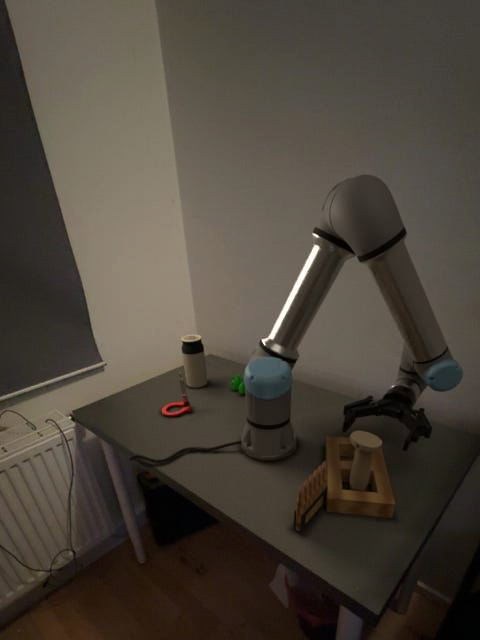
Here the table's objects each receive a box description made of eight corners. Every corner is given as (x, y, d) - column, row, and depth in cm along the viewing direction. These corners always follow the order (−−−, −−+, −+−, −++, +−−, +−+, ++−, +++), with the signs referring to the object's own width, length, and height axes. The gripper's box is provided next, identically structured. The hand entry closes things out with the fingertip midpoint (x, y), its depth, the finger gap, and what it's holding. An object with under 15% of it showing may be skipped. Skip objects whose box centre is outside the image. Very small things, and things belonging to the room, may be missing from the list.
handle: (361, 506, 75) (371, 450, 67) (338, 490, 80) (345, 436, 72) (375, 496, 78) (387, 441, 70) (352, 481, 82) (360, 428, 74)
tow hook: (164, 420, 112) (192, 412, 114) (155, 384, 105) (185, 376, 107) (160, 409, 118) (186, 402, 121) (151, 374, 111) (179, 367, 114)
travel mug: (198, 389, 129) (192, 342, 119) (182, 385, 132) (175, 339, 123) (211, 381, 134) (207, 335, 125) (195, 377, 138) (189, 333, 128)
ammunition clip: (318, 499, 78) (322, 456, 71) (326, 503, 77) (331, 460, 70) (293, 529, 71) (295, 485, 65) (300, 534, 70) (303, 489, 64)
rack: (326, 511, 75) (328, 497, 72) (325, 448, 94) (326, 436, 92) (392, 518, 72) (395, 504, 70) (376, 451, 92) (379, 439, 89)
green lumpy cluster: (277, 384, 129) (278, 366, 126) (258, 401, 119) (257, 382, 115) (243, 376, 137) (242, 360, 133) (222, 392, 126) (220, 374, 122)
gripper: (449, 423, 87) (430, 468, 73) (352, 399, 100) (320, 433, 86) (458, 396, 83) (439, 439, 69) (356, 375, 96) (322, 407, 82)
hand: (373, 436), depth 78 cm, fingers open, 13 cm apart
